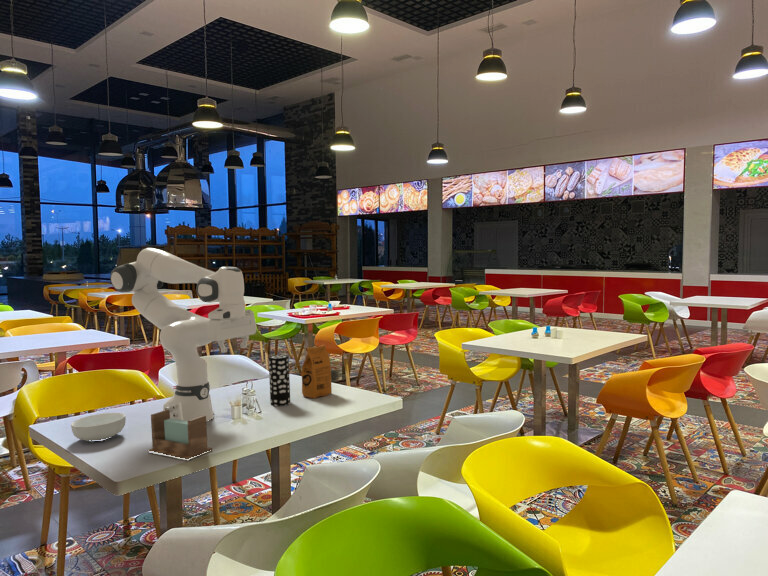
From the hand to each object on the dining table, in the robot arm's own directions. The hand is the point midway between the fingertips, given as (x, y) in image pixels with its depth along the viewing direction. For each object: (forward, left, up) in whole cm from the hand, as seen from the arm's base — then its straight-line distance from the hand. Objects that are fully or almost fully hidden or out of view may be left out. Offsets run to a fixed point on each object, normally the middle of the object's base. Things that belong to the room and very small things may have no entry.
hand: (234, 350), depth 197 cm
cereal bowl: (-38, -28, -29) cm, 56 cm away
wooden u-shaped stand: (0, -26, -29) cm, 39 cm away
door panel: (0, -26, -28) cm, 38 cm away
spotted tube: (-8, +34, -29) cm, 46 cm away
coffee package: (-2, +52, -29) cm, 60 cm away
